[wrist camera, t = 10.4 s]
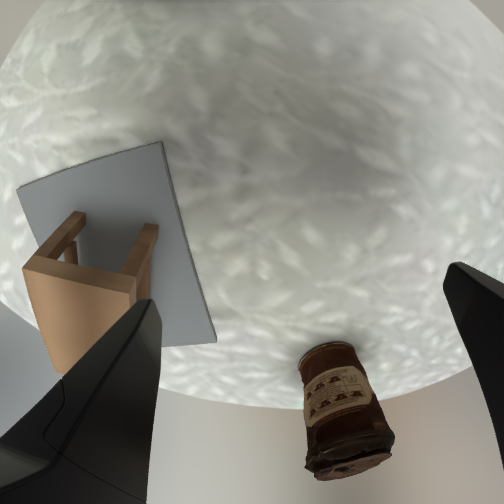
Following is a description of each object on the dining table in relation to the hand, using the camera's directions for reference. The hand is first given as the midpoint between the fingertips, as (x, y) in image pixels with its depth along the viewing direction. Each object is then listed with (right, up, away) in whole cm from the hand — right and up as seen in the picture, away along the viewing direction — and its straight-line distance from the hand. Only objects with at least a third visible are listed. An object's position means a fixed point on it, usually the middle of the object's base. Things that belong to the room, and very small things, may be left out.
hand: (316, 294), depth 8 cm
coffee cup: (+6, -10, +22) cm, 25 cm away
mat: (-13, 0, +15) cm, 19 cm away
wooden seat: (-13, -1, +14) cm, 19 cm away
